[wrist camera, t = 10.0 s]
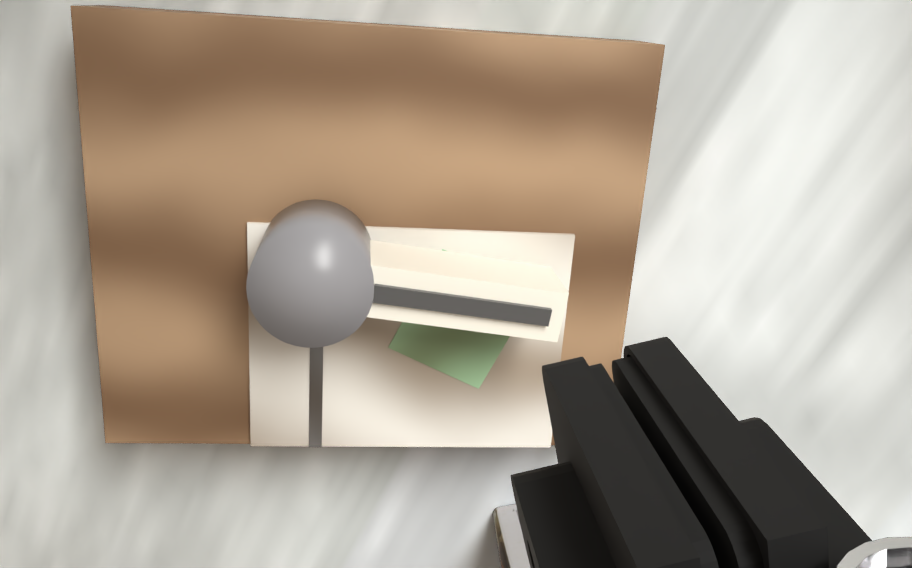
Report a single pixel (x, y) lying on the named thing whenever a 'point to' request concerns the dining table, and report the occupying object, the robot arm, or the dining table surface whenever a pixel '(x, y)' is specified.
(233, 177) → the board
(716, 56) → the dining table surface
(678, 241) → the dining table surface
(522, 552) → the coffee box
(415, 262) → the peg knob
